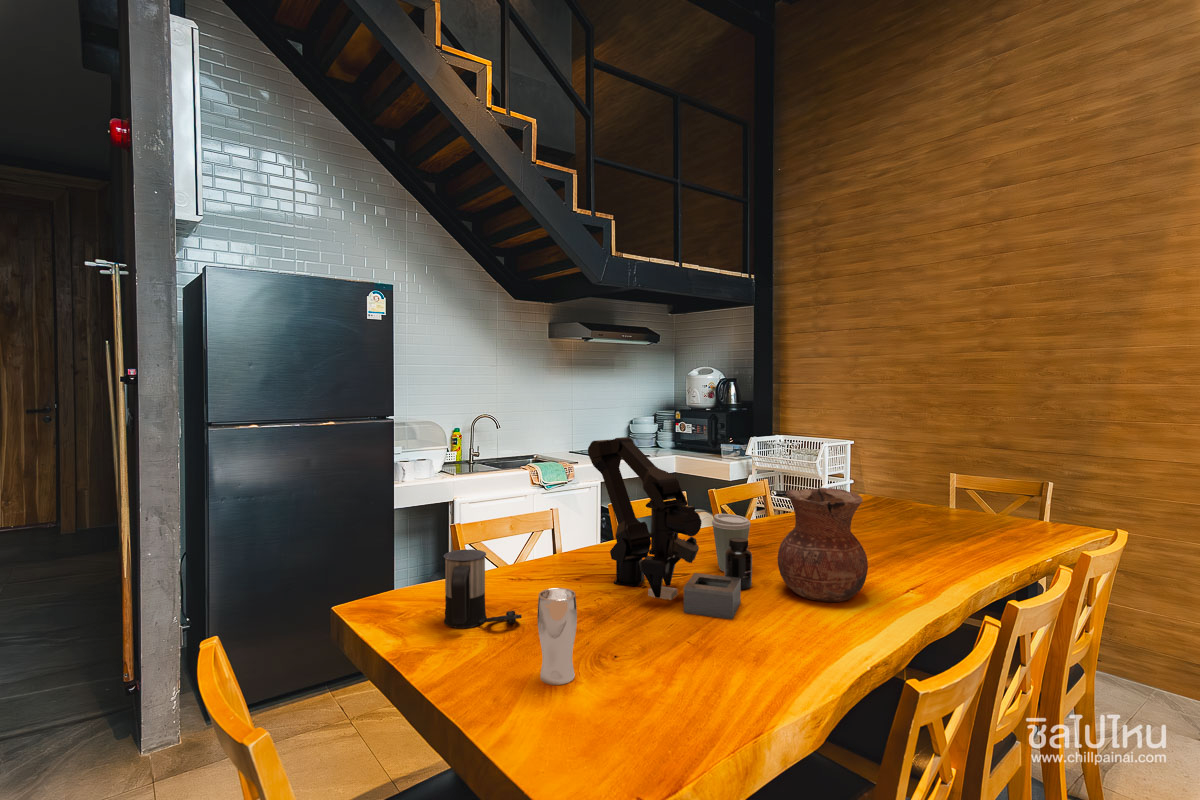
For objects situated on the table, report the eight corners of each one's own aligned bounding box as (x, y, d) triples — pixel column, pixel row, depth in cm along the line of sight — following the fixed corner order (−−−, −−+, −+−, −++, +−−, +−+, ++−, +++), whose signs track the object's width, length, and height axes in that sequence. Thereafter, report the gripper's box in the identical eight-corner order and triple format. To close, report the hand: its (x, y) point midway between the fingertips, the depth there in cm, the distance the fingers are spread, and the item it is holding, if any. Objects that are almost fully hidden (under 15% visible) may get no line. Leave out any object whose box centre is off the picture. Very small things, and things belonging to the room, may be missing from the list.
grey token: (648, 597, 155) (648, 589, 155) (654, 592, 159) (654, 584, 159) (671, 601, 152) (671, 593, 152) (677, 596, 156) (677, 588, 156)
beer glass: (538, 669, 116) (537, 587, 116) (576, 667, 117) (575, 586, 116) (537, 687, 109) (537, 601, 109) (578, 685, 110) (577, 599, 109)
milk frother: (441, 616, 142) (441, 550, 142) (511, 607, 148) (510, 544, 147) (449, 640, 129) (449, 568, 128) (525, 630, 134) (525, 560, 134)
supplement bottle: (752, 591, 159) (752, 543, 158) (724, 589, 160) (724, 542, 160) (751, 582, 166) (751, 536, 165) (724, 581, 167) (724, 535, 166)
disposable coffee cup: (747, 564, 181) (748, 512, 181) (753, 576, 171) (753, 521, 170) (710, 563, 182) (710, 511, 182) (713, 575, 172) (713, 520, 171)
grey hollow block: (683, 612, 144) (683, 586, 144) (694, 597, 154) (694, 572, 154) (732, 619, 140) (732, 592, 140) (740, 603, 150) (740, 578, 150)
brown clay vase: (876, 612, 145) (877, 502, 144) (780, 605, 149) (781, 499, 148) (857, 581, 166) (858, 486, 165) (774, 576, 170) (775, 484, 170)
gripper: (686, 540, 143) (686, 608, 144) (703, 522, 161) (703, 583, 161) (639, 535, 147) (639, 602, 148) (661, 519, 165) (661, 578, 165)
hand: (662, 591), depth 156 cm, fingers open, 9 cm apart
